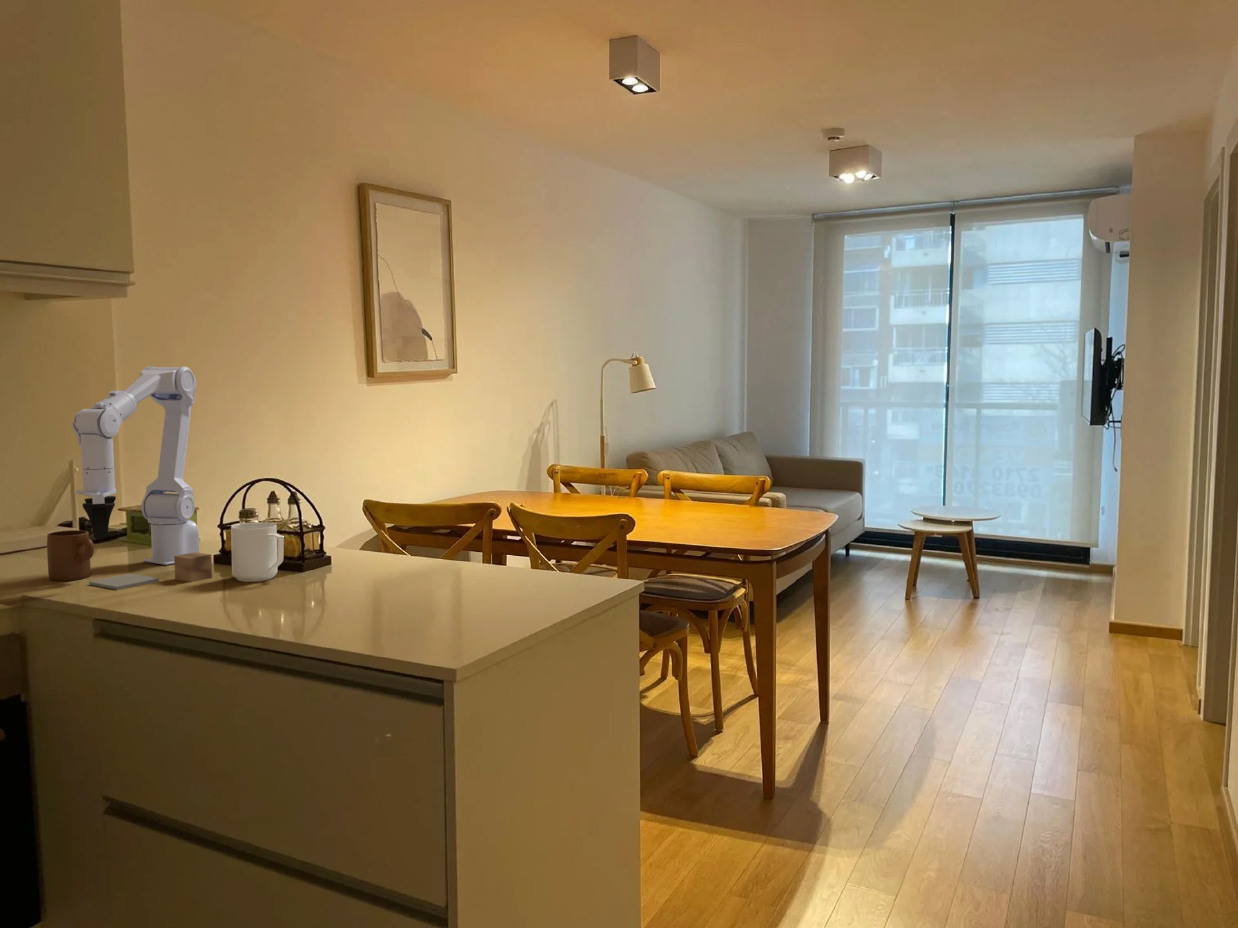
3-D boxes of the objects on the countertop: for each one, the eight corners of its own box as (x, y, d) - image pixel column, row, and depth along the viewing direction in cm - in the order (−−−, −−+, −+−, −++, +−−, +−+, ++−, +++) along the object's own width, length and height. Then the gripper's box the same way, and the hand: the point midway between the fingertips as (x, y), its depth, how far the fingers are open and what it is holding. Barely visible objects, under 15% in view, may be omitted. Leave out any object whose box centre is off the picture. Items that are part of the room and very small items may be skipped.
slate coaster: (131, 576, 194) (131, 573, 194) (158, 581, 190) (158, 578, 190) (89, 584, 186) (89, 581, 186) (117, 589, 182) (117, 586, 182)
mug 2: (222, 579, 192) (221, 526, 191) (255, 571, 200) (254, 521, 199) (266, 585, 187) (265, 531, 186) (298, 577, 195) (297, 525, 194)
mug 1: (111, 578, 192) (109, 534, 191) (74, 585, 185) (72, 539, 184) (77, 572, 198) (75, 528, 197) (40, 578, 191) (38, 533, 190)
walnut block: (196, 575, 197) (195, 552, 196) (211, 577, 194) (211, 554, 194) (175, 579, 192) (174, 555, 192) (190, 582, 190) (190, 558, 189)
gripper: (77, 465, 191) (80, 530, 192) (73, 472, 178) (76, 542, 180) (115, 464, 194) (118, 528, 196) (114, 471, 182) (117, 539, 183)
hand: (101, 534), depth 188 cm, fingers open, 7 cm apart
